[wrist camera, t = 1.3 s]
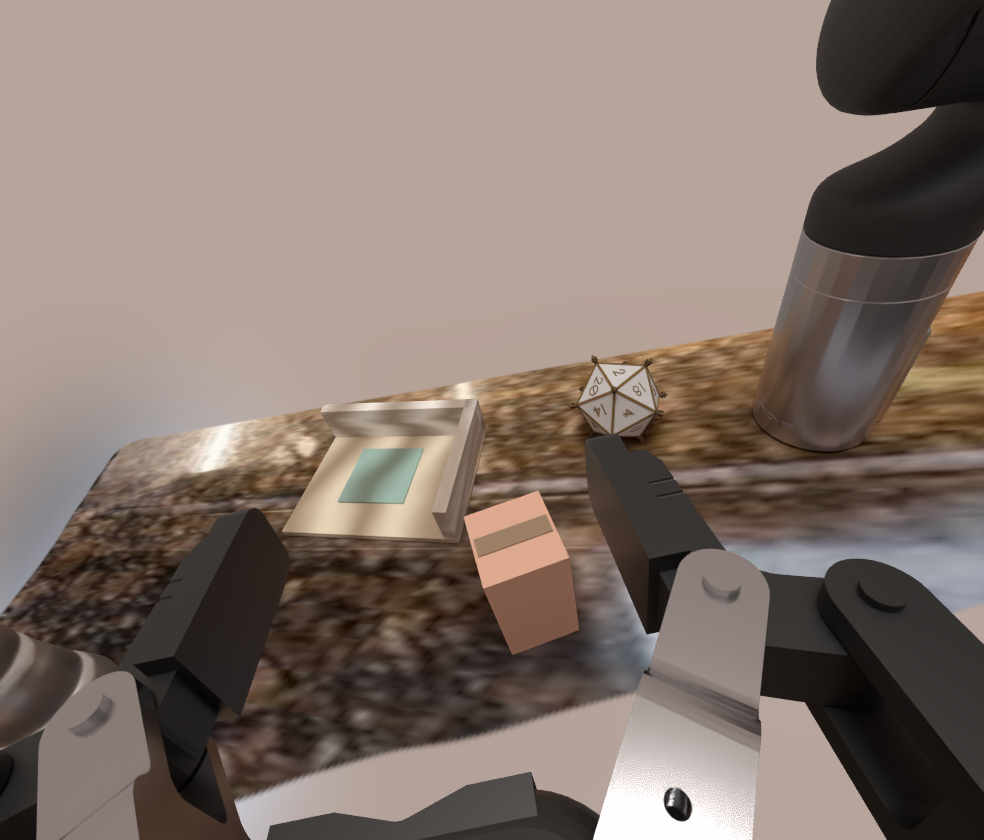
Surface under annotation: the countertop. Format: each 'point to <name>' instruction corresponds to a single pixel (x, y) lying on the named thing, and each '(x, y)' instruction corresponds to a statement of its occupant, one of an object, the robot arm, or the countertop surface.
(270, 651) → the countertop surface
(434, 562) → the countertop surface
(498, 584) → the terracotta block
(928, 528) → the countertop surface
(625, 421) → the game die
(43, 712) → the plastic bottle
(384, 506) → the beige flat tray shape
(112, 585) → the countertop surface
